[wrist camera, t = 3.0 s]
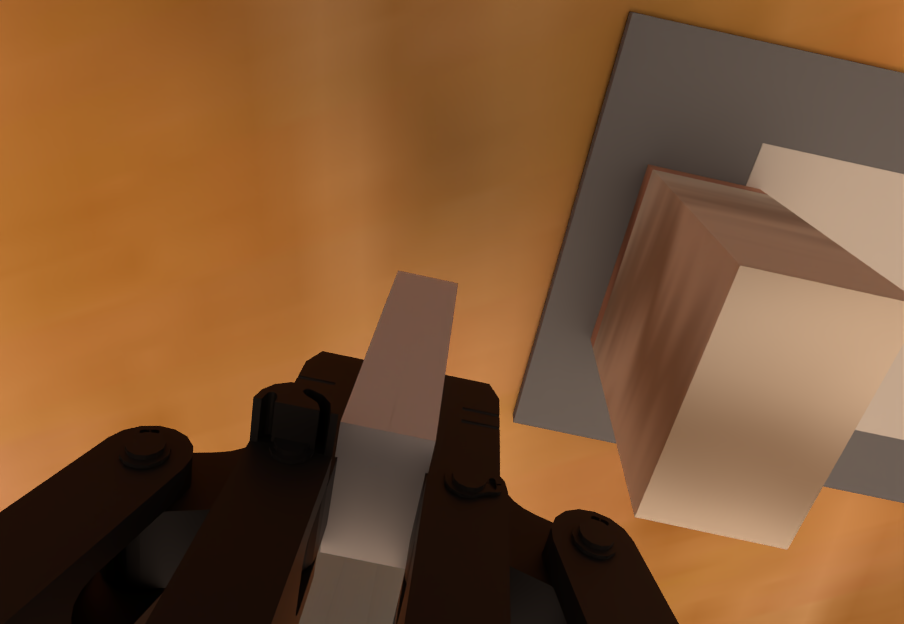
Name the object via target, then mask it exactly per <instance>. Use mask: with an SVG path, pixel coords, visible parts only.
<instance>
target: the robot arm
mask: <svg viewBox="0 0 904 624" xmlns="http://www.w3.org/2000/svg"><path fill="white" fill-rule="evenodd" d="M457 287H458V283H454V282H449V281H445V280H440V279H435V278H431V277H426V276H421V275H416V274H412V273H407V272H402V271H398V272H397V275H396V278H395V280H394V283H393V285H392V288H391V291H390V293H389V296H388V298H387V301H386V304H385V306H384V309H383V312H382V314H381V317H380V319H379V322H378V325H377V327H376V330H375V333H374V335H373V338H372V340H371V343H370V346H369V348H368V351H367V353H366V356H365V359H364V360H362V359H357V358H353V357H348V356H343V355H338V354H333V353H329V352H324V351H322V352H321V353H319V354H317V355H316V356H314V357H312V358H311V359H309V360H308V361H306V363H305V364H304V366H303V368H302V370H301V372H300V374H299V376H298V378H297V379H296V381H295V383H294V382H289V383H281V384H274V385H272V386H269V387H267V388H264V389H262V390H261V391H260V392H259V393H258V394H257V395H255V396H254V398H253V410H252V421H251V432H250V441H249V443H248V445H247V446H246V447H245V448H242V449H238V450H234V451H228V452H214V453H193V445H192V444H191V442H190V440H189V439H188V437H187V436H185V435H184V434H182V433H180V432H178V431H177V430H175V429H170V428H166V427H162V426H139V427H135V428H130V429H126V430H123V431H121V432H119V433H116V434H114V435H112V436H110V437H108V438H107V439H105V440H104V441H103V442H101V443H100V444H98V445H97V446H95V447H94V448H92V449H91V450H90V451H88V452H87V453H85V454H84V455H82V456H81V457H79V458H78V459H76V460H75V461H74V462H72V463H71V464H69V465H68V466H66V467H65V468H63V469H62V470H61V471H59V472H58V473H56V474H55V475H53V476H52V477H50V478H49V479H48V480H46V481H45V482H43V483H42V484H40V485H39V486H37V487H36V488H35V489H33V490H32V491H30V492H29V493H27V494H26V495H24V496H23V497H22V498H20V499H19V500H17V501H16V502H14V503H13V504H11V505H10V506H9V507H7V508H6V509H4V510H3V511H1V512H0V624H299V621H300V618H301V615H302V612H303V609H304V605H305V602H306V599H307V596H308V593H309V590H310V587H311V584H312V580H313V577H314V571H315V564H316V558H317V553H318V550H319V547H320V544H321V549H320V552H322V553H327V554H332V555H337V556H342V557H347V558H352V559H357V560H362V561H367V562H372V563H377V564H382V565H387V566H392V567H397V568H402V569H405V573H404V577H403V581H402V586H401V590H400V594H399V598H398V603H397V607H396V611H395V616H394V620H393V624H679V623H678V622H677V620H676V618H675V616H674V614H673V612H672V611H671V609H670V607H669V605H668V603H667V601H666V600H665V598H664V596H663V594H662V592H661V591H660V589H659V587H658V585H657V583H656V581H655V580H654V578H653V576H652V574H651V572H650V570H649V569H648V567H647V565H646V563H645V561H644V559H643V558H642V556H641V554H640V552H639V550H638V549H637V547H636V545H635V543H634V541H633V540H632V539H631V537H630V536H629V535H628V534H627V532H626V531H625V530H624V529H623V528H622V527H621V526H619V525H618V524H617V523H615V522H614V521H613V520H611V519H610V518H607V517H605V516H603V515H600V514H598V513H596V512H592V511H586V510H581V509H577V510H569V511H565V512H563V513H562V514H560V515H558V516H557V517H556V518H555V520H554V522H553V523H552V522H550V521H548V520H546V519H544V518H541V517H539V516H537V515H535V514H533V513H531V512H529V511H527V510H525V509H524V508H522V507H521V506H520V505H518V504H517V503H516V502H514V501H513V500H512V499H511V497H510V496H509V495H508V491H507V488H506V484H505V482H504V480H503V479H502V478H501V477H500V430H499V427H500V426H499V398H498V397H497V395H496V394H495V392H494V390H493V389H492V387H491V386H490V384H486V383H482V382H477V381H472V380H467V379H462V378H458V377H453V376H448V375H445V372H446V364H447V357H448V350H449V343H450V336H451V329H452V322H453V315H454V308H455V301H456V294H457ZM321 541H322V543H321Z"/></svg>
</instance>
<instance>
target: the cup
mask: <svg viewBox="0 0 904 624" xmlns="http://www.w3.org/2000/svg"><path fill="white" fill-rule="evenodd" d="M321 543H322V541H321ZM320 549H321V544H320V547H319V550H318V553H317V558H316V564H315V571H314V577H313V580H312V584H311V587H310V590H309V593H308V596H307V599H306V602H305V605H304V609H303V612H302V615H301V618H300V621H299V624H393V620H394V616H395V611H396V607H397V603H398V598H399V594H400V590H401V586H402V581H403V577H404V573H405V569H402V568H397V567H392V566H387V565H382V564H377V563H372V562H367V561H362V560H357V559H352V558H347V557H342V556H337V555H332V554H327V553H322V552H320Z"/></svg>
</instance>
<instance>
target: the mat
mask: <svg viewBox="0 0 904 624" xmlns="http://www.w3.org/2000/svg"><path fill="white" fill-rule="evenodd" d="M648 164H649V165H653V166H658V167H662V168H667V169H671V170H676V171H680V172H685V173H689V174H694V175H698V176H703V177H707V178H712V179H717V180H721V181H726V182H730V183H735V184H739V185H744V186H748V187H753V188H757V189H761V190H762V191H763V192H765V193H766V194H768V195H769V196H770V197H772V198H773V199H775V200H776V201H777V202H779V203H780V204H782V205H783V206H785V207H786V208H787V209H789V210H790V211H792V212H793V213H794V214H796V215H797V216H799V217H800V218H801V219H803V220H804V221H806V222H807V223H809V224H810V225H811V226H813V227H814V228H816V229H817V230H818V231H820V232H821V233H823V234H824V235H825V236H827V237H828V238H830V239H831V240H833V241H834V242H835V243H837V244H838V245H840V246H841V247H842V248H844V249H845V250H847V251H848V252H849V253H851V254H852V255H854V256H855V257H857V258H858V259H859V260H861V261H862V262H864V263H865V264H866V265H868V266H869V267H871V268H872V269H873V270H875V271H876V272H878V273H879V274H880V275H882V276H883V277H885V278H886V279H888V280H889V281H890V282H892V283H893V284H895V285H896V286H897V287H899V288H900V289H902V290H903V291H904V73H901V72H896V71H892V70H887V69H883V68H878V67H874V66H870V65H865V64H861V63H856V62H852V61H847V60H843V59H838V58H834V57H830V56H825V55H821V54H816V53H812V52H807V51H803V50H798V49H794V48H790V47H785V46H781V45H776V44H772V43H767V42H763V41H758V40H754V39H750V38H745V37H741V36H736V35H732V34H727V33H723V32H718V31H714V30H710V29H705V28H701V27H696V26H692V25H687V24H683V23H678V22H674V21H669V20H665V19H661V18H656V17H652V16H647V15H643V14H638V13H634V12H629V16H628V19H627V23H626V26H625V30H624V33H623V36H622V40H621V43H620V47H619V50H618V54H617V57H616V61H615V64H614V68H613V71H612V74H611V78H610V81H609V85H608V88H607V92H606V95H605V99H604V102H603V106H602V109H601V112H600V116H599V119H598V123H597V126H596V130H595V133H594V137H593V140H592V144H591V147H590V150H589V154H588V157H587V161H586V164H585V168H584V171H583V175H582V178H581V181H580V185H579V188H578V192H577V195H576V199H575V202H574V206H573V209H572V213H571V216H570V219H569V223H568V226H567V230H566V233H565V237H564V240H563V244H562V247H561V251H560V254H559V257H558V261H557V264H556V268H555V271H554V275H553V278H552V282H551V285H550V289H549V292H548V295H547V299H546V302H545V306H544V309H543V313H542V316H541V320H540V323H539V327H538V330H537V333H536V337H535V340H534V344H533V347H532V351H531V354H530V358H529V361H528V365H527V368H526V371H525V375H524V378H523V382H522V385H521V389H520V392H519V396H518V399H517V402H516V406H515V409H514V413H513V422H515V423H520V424H524V425H529V426H534V427H539V428H544V429H549V430H553V431H558V432H563V433H568V434H573V435H578V436H582V437H587V438H592V439H597V440H602V441H607V442H611V443H616V440H615V436H614V432H613V428H612V424H611V420H610V416H609V412H608V408H607V404H606V400H605V396H604V392H603V388H602V384H601V380H600V376H599V372H598V368H597V364H596V360H595V356H594V352H593V348H592V344H591V340H590V339H591V336H592V333H593V330H594V327H595V324H596V321H597V318H598V315H599V312H600V309H601V305H602V302H603V299H604V296H605V293H606V290H607V287H608V284H609V281H610V278H611V275H612V272H613V269H614V266H615V263H616V260H617V257H618V254H619V251H620V248H621V245H622V242H623V239H624V236H625V233H626V230H627V227H628V224H629V221H630V218H631V215H632V212H633V209H634V206H635V203H636V200H637V197H638V194H639V191H640V188H641V185H642V182H643V178H644V175H645V172H646V169H647V166H648ZM823 486H824V487H829V488H834V489H839V490H844V491H848V492H853V493H858V494H863V495H868V496H873V497H877V498H882V499H887V500H892V501H897V502H902V503H904V344H903V346H902V347H901V349H900V351H899V353H898V354H897V356H896V358H895V360H894V361H893V363H892V365H891V367H890V369H889V370H888V372H887V374H886V376H885V377H884V379H883V381H882V383H881V384H880V386H879V388H878V390H877V392H876V393H875V395H874V397H873V399H872V400H871V402H870V404H869V406H868V408H867V409H866V411H865V413H864V415H863V416H862V418H861V420H860V422H859V423H858V425H857V427H856V429H855V431H854V432H853V434H852V436H851V438H850V439H849V441H848V443H847V445H846V447H845V448H844V450H843V452H842V454H841V455H840V457H839V459H838V461H837V462H836V464H835V466H834V468H833V470H832V471H831V473H830V475H829V477H828V478H827V480H826V482H825V484H824V485H823Z"/></svg>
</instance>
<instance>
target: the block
mask: <svg viewBox="0 0 904 624" xmlns="http://www.w3.org/2000/svg"><path fill="white" fill-rule="evenodd" d="M590 340H591V344H592V348H593V352H594V356H595V360H596V364H597V368H598V372H599V376H600V380H601V384H602V388H603V392H604V396H605V400H606V404H607V408H608V412H609V416H610V420H611V424H612V428H613V432H614V436H615V440H616V444H617V448H618V452H619V456H620V460H621V464H622V468H623V472H624V476H625V480H626V484H627V488H628V492H629V496H630V500H631V504H632V508H633V512H634V516H635V517H637V518H642V519H647V520H651V521H656V522H661V523H665V524H670V525H675V526H679V527H684V528H689V529H694V530H698V531H703V532H708V533H712V534H717V535H722V536H726V537H731V538H736V539H740V540H745V541H750V542H754V543H759V544H764V545H768V546H773V547H778V548H782V549H788V548H789V546H790V544H791V542H792V540H793V539H794V537H795V535H796V533H797V532H798V530H799V528H800V526H801V524H802V523H803V521H804V519H805V517H806V516H807V514H808V512H809V510H810V509H811V507H812V505H813V503H814V501H815V500H816V498H817V496H818V494H819V493H820V491H821V489H822V487H823V485H824V484H825V482H826V480H827V478H828V477H829V475H830V473H831V471H832V470H833V468H834V466H835V464H836V462H837V461H838V459H839V457H840V455H841V454H842V452H843V450H844V448H845V447H846V445H847V443H848V441H849V439H850V438H851V436H852V434H853V432H854V431H855V429H856V427H857V425H858V423H859V422H860V420H861V418H862V416H863V415H864V413H865V411H866V409H867V408H868V406H869V404H870V402H871V400H872V399H873V397H874V395H875V393H876V392H877V390H878V388H879V386H880V384H881V383H882V381H883V379H884V377H885V376H886V374H887V372H888V370H889V369H890V367H891V365H892V363H893V361H894V360H895V358H896V356H897V354H898V353H899V351H900V349H901V347H902V346H903V344H904V291H903V290H902V289H900V288H899V287H897V286H896V285H895V284H893V283H892V282H890V281H889V280H888V279H886V278H885V277H883V276H882V275H880V274H879V273H878V272H876V271H875V270H873V269H872V268H871V267H869V266H868V265H866V264H865V263H864V262H862V261H861V260H859V259H858V258H857V257H855V256H854V255H852V254H851V253H849V252H848V251H847V250H845V249H844V248H842V247H841V246H840V245H838V244H837V243H835V242H834V241H833V240H831V239H830V238H828V237H827V236H825V235H824V234H823V233H821V232H820V231H818V230H817V229H816V228H814V227H813V226H811V225H810V224H809V223H807V222H806V221H804V220H803V219H801V218H800V217H799V216H797V215H796V214H794V213H793V212H792V211H790V210H789V209H787V208H786V207H785V206H783V205H782V204H780V203H779V202H777V201H776V200H775V199H773V198H772V197H770V196H769V195H768V194H766V193H765V192H763V191H762V190H761V189H757V188H753V187H748V186H744V185H739V184H735V183H730V182H726V181H721V180H717V179H712V178H707V177H703V176H698V175H694V174H689V173H685V172H680V171H676V170H671V169H667V168H662V167H658V166H653V165H649V164H648V166H647V169H646V172H645V175H644V178H643V182H642V185H641V188H640V191H639V194H638V197H637V200H636V203H635V206H634V209H633V212H632V215H631V218H630V221H629V224H628V227H627V230H626V233H625V236H624V239H623V242H622V245H621V248H620V251H619V254H618V257H617V260H616V263H615V266H614V269H613V272H612V275H611V278H610V281H609V284H608V287H607V290H606V293H605V296H604V299H603V302H602V305H601V309H600V312H599V315H598V318H597V321H596V324H595V327H594V330H593V333H592V336H591V339H590Z"/></svg>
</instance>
